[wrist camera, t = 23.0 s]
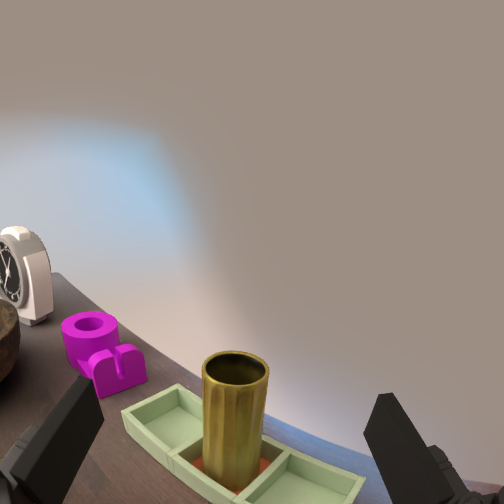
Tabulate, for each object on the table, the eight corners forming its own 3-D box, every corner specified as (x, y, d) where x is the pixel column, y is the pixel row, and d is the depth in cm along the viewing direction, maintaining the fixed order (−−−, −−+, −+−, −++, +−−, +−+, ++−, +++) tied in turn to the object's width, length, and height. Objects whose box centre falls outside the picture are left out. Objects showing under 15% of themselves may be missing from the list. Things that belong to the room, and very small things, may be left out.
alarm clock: (-5, 313, 48) (-17, 227, 44) (18, 302, 56) (9, 222, 52) (36, 334, 45) (21, 232, 41) (62, 319, 53) (52, 226, 49)
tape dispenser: (61, 349, 43) (55, 318, 41) (107, 337, 50) (103, 307, 49) (95, 400, 33) (85, 364, 31) (151, 379, 40) (147, 344, 39)
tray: (355, 495, 21) (366, 477, 20) (313, 557, 14) (323, 546, 13) (179, 403, 36) (177, 382, 35) (126, 431, 29) (120, 410, 28)
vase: (266, 486, 23) (286, 385, 20) (205, 494, 21) (199, 393, 18) (251, 447, 28) (262, 345, 25) (198, 452, 27) (192, 348, 24)
